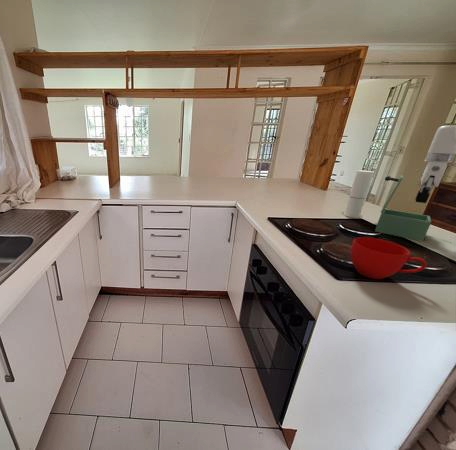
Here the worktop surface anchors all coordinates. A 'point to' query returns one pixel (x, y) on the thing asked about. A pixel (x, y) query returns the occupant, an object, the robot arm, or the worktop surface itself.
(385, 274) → the ceramic cup
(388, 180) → the lid
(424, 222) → the green rectangular box
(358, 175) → the cylindrical container
